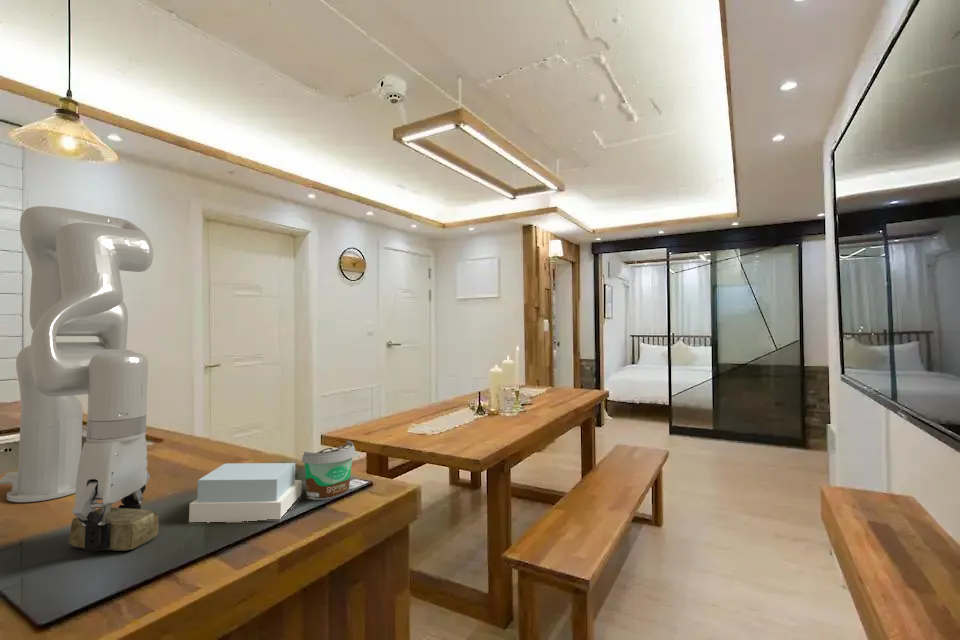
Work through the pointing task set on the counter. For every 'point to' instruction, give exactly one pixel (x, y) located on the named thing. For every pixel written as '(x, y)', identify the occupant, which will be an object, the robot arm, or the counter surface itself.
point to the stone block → (121, 528)
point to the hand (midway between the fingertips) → (113, 537)
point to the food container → (328, 471)
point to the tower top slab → (246, 482)
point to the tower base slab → (244, 508)
